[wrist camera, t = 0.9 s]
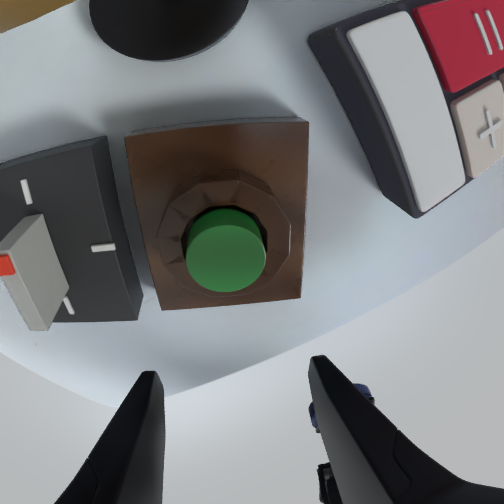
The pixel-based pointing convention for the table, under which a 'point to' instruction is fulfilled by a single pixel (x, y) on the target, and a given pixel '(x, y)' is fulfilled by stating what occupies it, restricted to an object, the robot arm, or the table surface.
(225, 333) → the table surface
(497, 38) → the calculator
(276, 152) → the switch block
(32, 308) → the dimmer knob
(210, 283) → the power button
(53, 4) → the desk lamp
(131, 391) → the robot arm
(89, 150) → the panel
